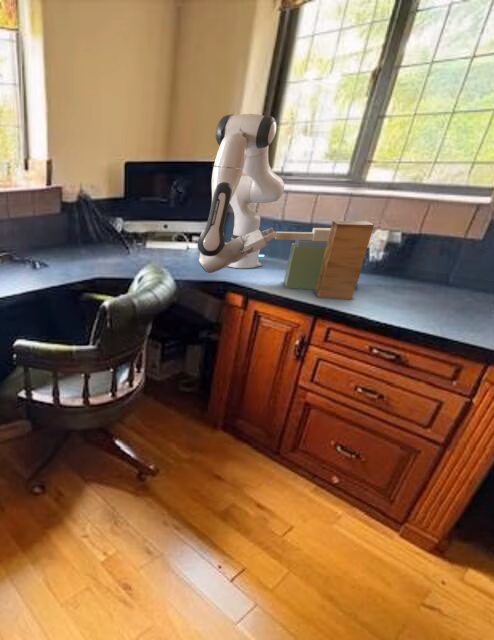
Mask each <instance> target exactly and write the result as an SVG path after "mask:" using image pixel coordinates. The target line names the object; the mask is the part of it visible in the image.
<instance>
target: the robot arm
mask: <svg viewBox="0 0 494 640" xmlns="http://www.w3.org/2000/svg"><path fill="white" fill-rule="evenodd" d="M277 123H278V122H277V120H276V119H275V117H273V116H271V115H268V114H265V115H263V114H262V115H261V114H256V113H248V114H246V113H243V114H241V113H240V114H226V115H223V116H222V117H221V118H220V120H218V123H217V125H216V128H215V140H216V143H217V145H218V146H219V147H218V149H217V152H216V156H215V160H214V163H213V166H212V167H213V168H212V173H211V203H210V204H211V205H210V208H209V209H210V210H209V214H208V218H207V223H206V225H205V228H203V230H202V231H201V233H200V235H199V238H198V240H197V249H198V251H199V258H198V263H199V265H200V267H201V268H202V270H203V271H204V272H205V273H208V274H212V273H215V272H218V271H221V270H223V269H225V268H228V267H230V268H236V269H253V268H256V267H257V268H258V267H262V263H261V261H259V257H265V254H260V251H261V250H262V249H264V248H265V247H266V246H267V243H268V242H270V241H271V240H272V239H275V237H276V236H277V233H276V232H277V231H275V229H274V227H270V228H268V229H265V230H262V231H261V230H260V225H261V216H260V214H259V213H258V212H256V211H254V210H253V209H252V208H251V207H250V203H251V204H268V203H274V202H277V201H279V199H280V198H282V196H283V194H284V193H285V192H284V191H285V183H284V180H283V178H282V177H281V176H279V175H277V174H276V173H275V171H273V169H272V167H271V165H270V163H269V149H270V148H269V147H270V145H271V144H272V142H273V141H274V139H275V138H276V137H275V136H276V134H277V128H278V127H277V126H278V124H277ZM243 174H244V175H243ZM229 206H231V208H232V209H231V210H232V211H233V216H234V219H233V229H232V230H233V231H232V234H231V237H230V241H228V242H226V241H225V233H224V227H225V223H226V218H227V214H228V209H229Z"/></svg>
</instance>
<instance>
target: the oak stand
mask: <svg viewBox="0 0 494 640" xmlns="http://www.w3.org/2000/svg"><path fill="white" fill-rule="evenodd" d="M374 227H375V224H373V223H372V222H369V221H368V220H332V222H331V226H330V228H331V230H330V233H329V237H328V241H327V245H326V249H325V253H324V257H323V261H322V265H321V269H320V273H319V277H318V281H317V285H316V289H314V293H315V294H316V295H317V297H318V298H319V299H320V298H321V299H336V300H337V299H340V300H353V297H354V294H355V290H356V288H357V285H358V282H357V280H358V281H359V279H358V277H359V278H360V276H359V274H360V275H361V273H360V270H361V271H362V269H361V267H362V268H363V266H362V264H363V265H364V263H363V260H364V257H365V258H366V254H367V250H368V246H369V243H370V240H371V237H372V233H373V230H374ZM356 284H357V285H356ZM355 287H356V288H355Z"/></svg>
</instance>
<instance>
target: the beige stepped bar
mask: <svg viewBox="0 0 494 640" xmlns="http://www.w3.org/2000/svg"><path fill="white" fill-rule="evenodd" d="M330 230H331V227H313V228H312V231H275V232H276V233H277V236H276V237H274V239H275V240H279V241H280V240H282V241H283V240H284V241H295V240H312V241H328V237H329V233H330Z"/></svg>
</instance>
